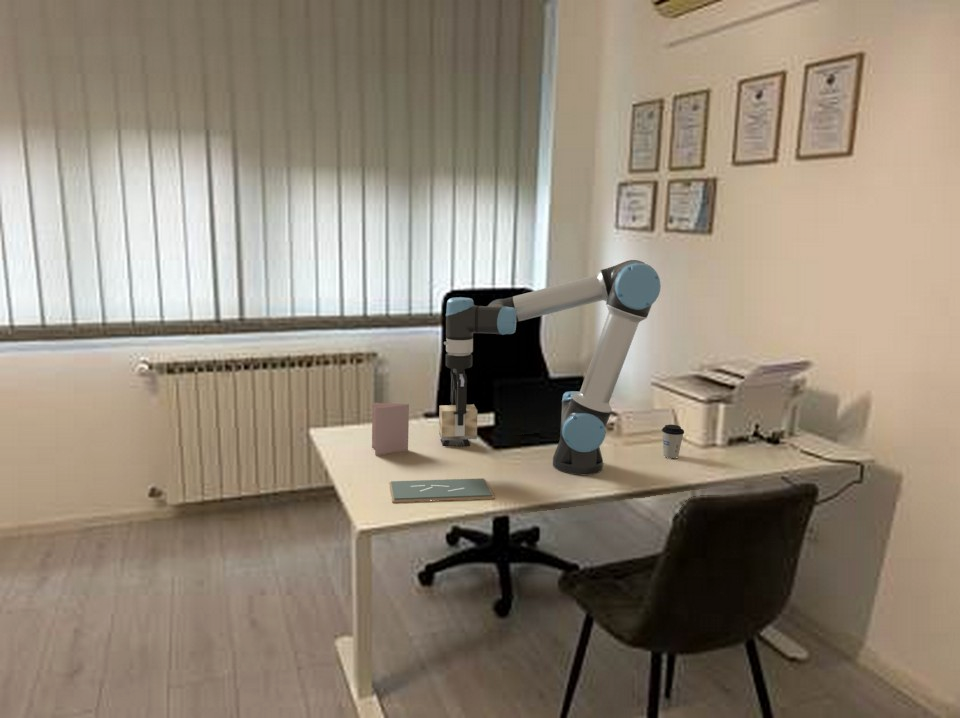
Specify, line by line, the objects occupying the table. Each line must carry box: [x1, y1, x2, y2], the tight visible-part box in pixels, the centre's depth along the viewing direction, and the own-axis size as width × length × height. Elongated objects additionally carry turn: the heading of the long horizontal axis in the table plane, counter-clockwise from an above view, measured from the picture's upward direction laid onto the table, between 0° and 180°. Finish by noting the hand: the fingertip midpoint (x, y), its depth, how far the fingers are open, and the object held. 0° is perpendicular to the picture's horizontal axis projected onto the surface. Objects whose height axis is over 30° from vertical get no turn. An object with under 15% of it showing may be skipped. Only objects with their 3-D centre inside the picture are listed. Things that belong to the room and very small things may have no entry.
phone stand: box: [440, 438, 471, 447], centre depth 239 cm, size 9×6×12 cm, turn 100°
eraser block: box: [438, 404, 478, 440], centre depth 210 cm, size 10×6×8 cm, turn 100°
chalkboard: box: [388, 477, 495, 504], centre depth 200 cm, size 27×13×1 cm, turn 101°
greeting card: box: [371, 402, 410, 456], centre depth 228 cm, size 11×7×15 cm, turn 89°
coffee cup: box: [661, 424, 685, 459], centre depth 234 cm, size 7×7×10 cm
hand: (457, 431), depth 211 cm, fingers closed on eraser block, 6 cm apart
